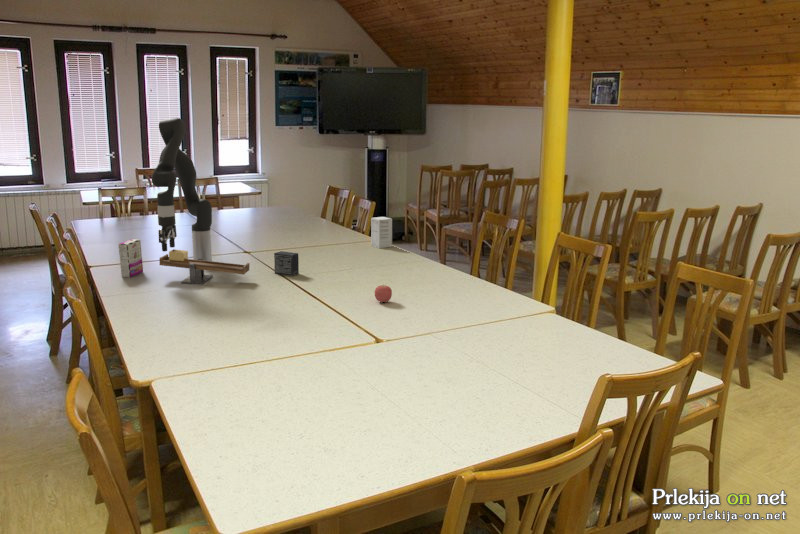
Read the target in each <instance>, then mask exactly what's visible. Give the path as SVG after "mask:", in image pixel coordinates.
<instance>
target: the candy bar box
mask: <svg viewBox="0 0 800 534" xmlns="http://www.w3.org/2000/svg"><path fill="white" fill-rule="evenodd" d="M118 253H119V254H118V255H119V262H120V264H119V265H120V272H121V277H122V278H133V277H135V276H138V275H140V274H141V273H144V270H143V269H144V267H143V266H144V265H143V257H142V245H141V239H139V238H138V239H135V238H132V239H129V240H125V241H123V242H120V243H118Z"/></svg>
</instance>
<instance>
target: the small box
mask: <svg viewBox="0 0 800 534" xmlns="http://www.w3.org/2000/svg"><path fill="white" fill-rule="evenodd" d="M273 255H274V257H273V258H274V274H275V275H282V276H289V277H294V276H295V275H296V276H297V275H298V274H300V272H299V252H298V253H297V252H290V251H281V250H280V251H277V252H274V253H273Z"/></svg>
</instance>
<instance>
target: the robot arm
mask: <svg viewBox="0 0 800 534" xmlns="http://www.w3.org/2000/svg"><path fill="white" fill-rule="evenodd" d="M158 129H159V132H160V133H159V134H160V136H161V138H162V140H163V142H164V144H165V146H164V147H163V149H162V151H161V153H160V155H159V160H158V164H157V166H156V167H155V168H154V171H153V173H152V174H151V175H152V176H151V183H152V185H153V186H155V187H156V188H157V187H158V188H159V187H160V188H167V190H165V191H160V192H158V193H156V197H157V198H156V200H157V223H158V226H161V229H158V243H160V244H161V251H162V252H167V251H168V240H169V248H175V247H176V246H175V245H176V244H175V239H176V238H177V227H176V226H177V225H176V210H175V209H176V208H175V200H174V194H175V188H176V183H177V180H178V181H179V184H180V187H181V190H182V194H183V196H184V201H185V205H186V209H187V212H188V213H189V215H191V216H193V217H196V222H195V223H193V224H191V235H192V236H191V239H192V255H193V256H192V258H193V259H194V260H198V259H203V261H212V262H213V254H212V251H213V250H212V235H211V232H212V231H211V227H212V223H213V218H212V217H213V211H212V210H213V207H212V204H211V201H209V200H208V199H205V198H200V196H199V195H198V192H197V190H196V182H197V171H196V167H195V165H194V161H193V160H192V159H191V158H190V156H189V155H188V154H186V153H185V152H184V151H182V149H180V147H181V145H182V142H183V139H184V137H185V134H186V125H185V122H184V121H183V119H182V118H180V117H174V118H167V119H162V120H159V123H158ZM174 171H175V172H174Z"/></svg>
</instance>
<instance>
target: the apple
mask: <svg viewBox="0 0 800 534" xmlns="http://www.w3.org/2000/svg"><path fill="white" fill-rule="evenodd" d="M392 295H393V291H392V288H391V287H390V286H388V285H386V284H384V283H383V284H381V285H378V286H376V288H375V290H374V296H375V299H376V300H377V302H379V301H380V302H379V303H381V302H385V303H387V302H386V301H388V302H389V301H390V300H391V299H392Z"/></svg>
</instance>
